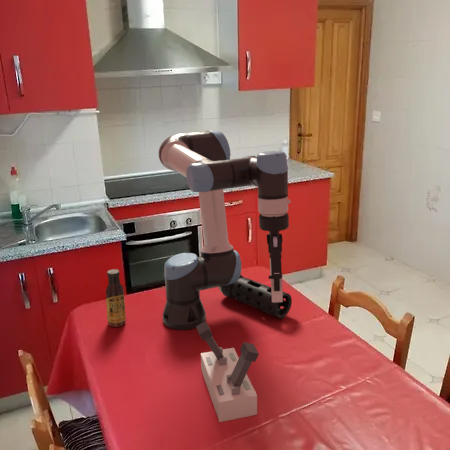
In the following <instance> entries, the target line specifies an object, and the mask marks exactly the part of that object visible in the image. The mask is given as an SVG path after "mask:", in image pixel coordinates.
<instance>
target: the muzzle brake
mask: <svg viewBox="0 0 450 450" xmlns="http://www.w3.org/2000/svg"><path fill="white" fill-rule="evenodd" d="M218 290H219V291H220V292H221V293H222V295H223V296H225V297H227V298H230V299H232V300H236V301H237V302H239V303H241V304H243V305H244V304H245V305H248V306H250V307H252V308H255V309H257V310H260V311H261V312H263V313H266V314H268V315H270V316H273V317H275V318H277V319H279V320H283V319H285V317H286V316H287V315H288V313H289V312H290V310H291V307H292V303H293V300H292V296H291V294H290V293H287V292H286V291H283V290H282V295H283V302H272V293H271V286H269V285H267V284H264V283H261V282H258V281H256V280H253V279H251V278H249V277H248V278H247V277H244V276H243V275H242V274H241V275H240V278H239V279H238V281H237V282H235V283H233V284H229V285H227V286H220V287H218ZM281 307H282V308H281Z"/></svg>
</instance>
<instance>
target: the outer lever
mask: <svg viewBox="0 0 450 450" xmlns="http://www.w3.org/2000/svg"><path fill="white" fill-rule="evenodd" d="M239 351H240V353H241V354H240V355H239V356H238V357H239V359H238V362H237V364H236V366H235V368H234V370H233V372H232V374H231V377H230V380H231V382H232V384H233V386H234V387H235V386H241V384H242V382H243V380H244V378H245V376H246V374H247V373H248V371H249V369H250V367H251V365H252V363H253V362H256V361H257V359H258V357H259V356H260V355H259V354H260V353H259V352H258V350H257V348H256V346H255V344H253V343H249V342H246V341H243V342H242V344H241V346H240V348H239ZM247 375H248V374H247Z"/></svg>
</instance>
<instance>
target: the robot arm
mask: <svg viewBox="0 0 450 450" xmlns="http://www.w3.org/2000/svg"><path fill="white" fill-rule="evenodd" d="M158 149H159V150H158V159H159V161H160V163H161V164H162V166H163V167H165V168H166V169H167V170H169V171H172V172H177V173H180V175H182V176H184V177H185V178H186V183H187V186H188V187H189V190H190V191H191V192H193V193H198V201H199V208H200V209H199V210H200V218H201V227H202V234H203V246H202V247H201V249H200V256H198V255H197V254H196V253H193V252H182V253H177V254H174V255H172V256H171V257H169V258H168V259H167V260H166V261H165V263H164V267H163V269H164V272H163V276H164V283H165V284H164V285H165V296H166V297H165V298H166V301H165V305H164V308H163V311H162V312H163V313H162V322H163V324H164V326H166V327H167V328H169V329H172V330H176V331H177V330H178V331H185V330H192V329H195V328H196V326H198V325H200V324H201V323H203V322H205V321H206V317H207V315H206V309H205V307H204V305H203V302H202V300H201V295H200V292H201V291H205V290H209V289H213V288H219V287H220V286H227V285H229V284H233V283H235V282H237V281H238V279H239V278H240V275H242V259H241V256H240V254H239V252H238V251H237V250H235V249H234V246H233V245H232V244H231V243H230V241H229V233H228V225H227V224H228V223H227V214H226V204H225V195H224V190H227V189H237V188H244V187H251V186H252V187H253V186H255V187H257V204H258V205H257V207H258V209H257V210H258V213H259V215H258V225H259V227H258V228H259V229H260V230H262V231H266V232H268V233H266V244H267V249H268V253H269V274H270V275H268V279H269V280H270V287H271V293H272V302H283V295H282V291H283V273H282V271H283V270H282V268H283V267H282V258H283V257H282V253H283V245H282V244H283V240H284V239H283V234H282V233H280V232H281V231H285V230H287V229H288V228H289V227H290V222H289V221H290V220H289V217H290V216H289V213H288V212H289V204H291V199H289V198H288V197H289V195H288V194H289V182H288V181H289V177H288V176H289V175H288V174H289V171H288V170H289V165H288V159H287V158H288V156H287V154H286V153H285V152H283V151H276V150H271V151H262V152H258V154H257V155H245V156H242V157H241V158H231V148H230V144H229V142H228V139H227V137H226V136H225V134H224V133H223V132H222V131H219V130H203V131H193V132H192V131H191V132H179V133H175V134H172V135H171V136H168V137H167V138H165V139H164V141H163V142H162V143H161V144H160V146H159V148H158ZM196 329H197V328H196Z"/></svg>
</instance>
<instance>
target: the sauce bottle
mask: <svg viewBox="0 0 450 450" xmlns="http://www.w3.org/2000/svg"><path fill="white" fill-rule="evenodd" d="M120 274H121V273H120V270H119V269H117V268H115V269H114V268H113V269H109V270H107V272H106V275H107V281H108V285H107V287H106V289H105V301H106V302H105V304H106V316H107V317H106V319H107V323H108V325H109V326H110V327H112V328H116V327H117V328H119V327H121V326H123V325H125V324H126V318H127V317H126V302H125V292H124V286H123V285H122V284H121V280H120Z"/></svg>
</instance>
